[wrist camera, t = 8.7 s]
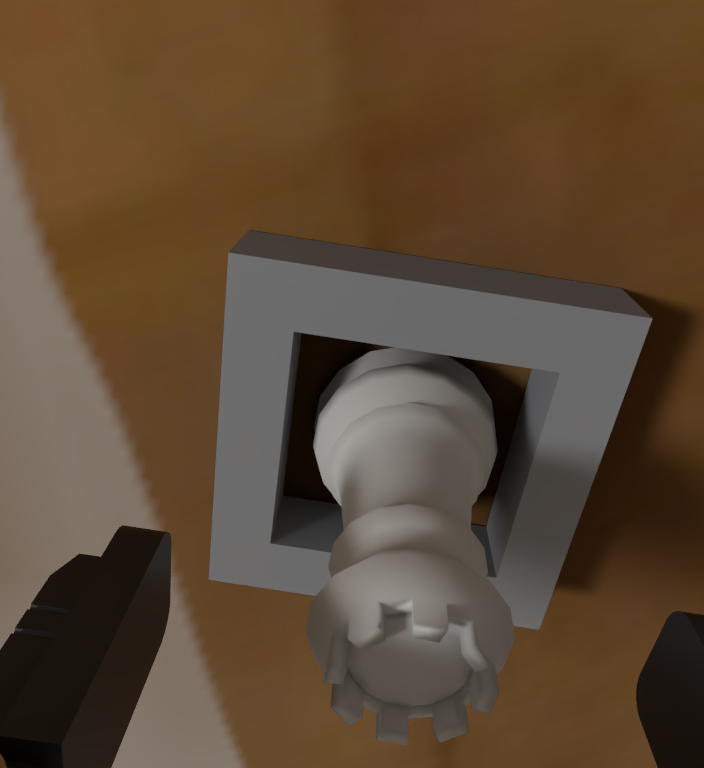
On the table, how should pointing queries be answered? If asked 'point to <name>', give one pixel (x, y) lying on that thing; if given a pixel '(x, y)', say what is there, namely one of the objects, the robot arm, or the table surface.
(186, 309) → the table surface
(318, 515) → the socket plinth
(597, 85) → the table surface
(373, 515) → the rook chess piece
